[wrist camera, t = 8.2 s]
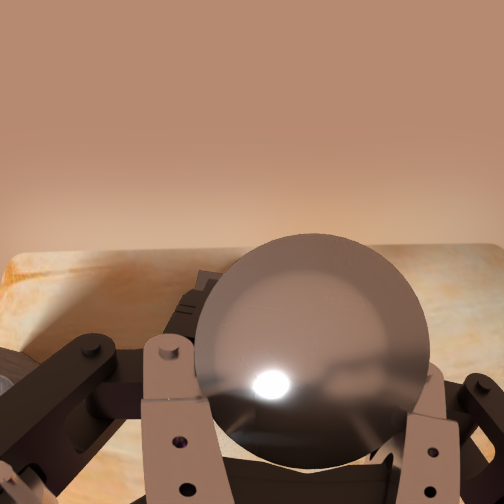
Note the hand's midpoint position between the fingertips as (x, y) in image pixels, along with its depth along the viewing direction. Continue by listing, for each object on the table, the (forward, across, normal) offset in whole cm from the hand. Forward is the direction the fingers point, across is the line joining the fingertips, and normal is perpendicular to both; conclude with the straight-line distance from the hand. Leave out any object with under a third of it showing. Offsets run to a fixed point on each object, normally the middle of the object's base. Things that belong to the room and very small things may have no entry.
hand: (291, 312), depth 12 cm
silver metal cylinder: (+2, 0, +4) cm, 5 cm away
